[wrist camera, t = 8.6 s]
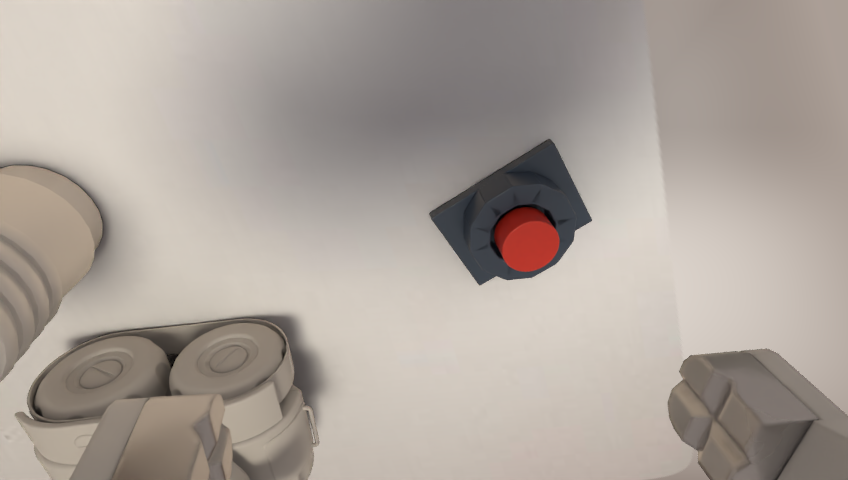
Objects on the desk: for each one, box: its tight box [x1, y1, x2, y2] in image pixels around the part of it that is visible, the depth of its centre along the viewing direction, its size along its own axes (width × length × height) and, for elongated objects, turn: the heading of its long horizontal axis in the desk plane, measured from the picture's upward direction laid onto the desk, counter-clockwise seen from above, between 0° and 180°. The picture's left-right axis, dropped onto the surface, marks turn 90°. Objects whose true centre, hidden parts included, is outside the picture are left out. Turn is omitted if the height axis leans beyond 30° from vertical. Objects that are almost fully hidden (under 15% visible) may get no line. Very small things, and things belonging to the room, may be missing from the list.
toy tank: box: [15, 319, 319, 480], centre depth 28 cm, size 15×11×13 cm
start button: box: [494, 207, 559, 272], centre depth 27 cm, size 3×3×2 cm
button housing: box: [430, 139, 592, 285], centre depth 29 cm, size 8×6×2 cm
